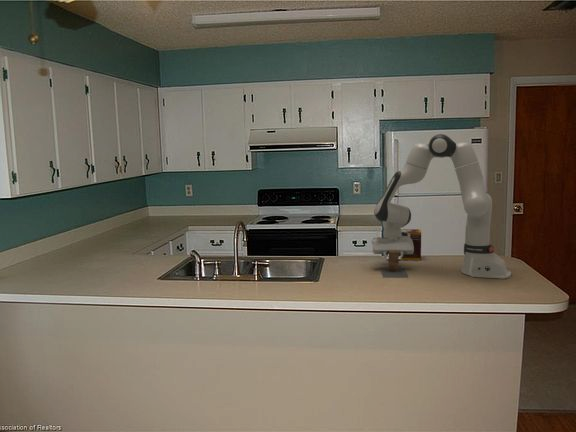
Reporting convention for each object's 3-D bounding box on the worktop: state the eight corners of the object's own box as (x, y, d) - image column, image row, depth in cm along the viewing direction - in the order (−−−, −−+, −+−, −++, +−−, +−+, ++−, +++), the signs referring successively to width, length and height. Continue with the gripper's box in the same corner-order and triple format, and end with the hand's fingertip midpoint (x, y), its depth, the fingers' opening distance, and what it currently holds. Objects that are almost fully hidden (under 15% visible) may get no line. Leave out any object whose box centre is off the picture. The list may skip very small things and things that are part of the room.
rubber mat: (380, 268, 265) (380, 267, 265) (404, 268, 263) (404, 267, 263) (382, 278, 245) (382, 277, 245) (408, 278, 244) (408, 277, 244)
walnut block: (388, 267, 260) (388, 249, 256) (397, 267, 259) (398, 249, 256) (389, 271, 257) (389, 253, 253) (398, 271, 256) (398, 253, 252)
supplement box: (421, 260, 279) (421, 232, 277) (392, 260, 282) (392, 232, 280) (420, 256, 289) (420, 229, 287) (392, 256, 292) (392, 228, 290)
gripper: (371, 233, 262) (372, 257, 254) (413, 233, 259) (415, 257, 251) (371, 240, 267) (372, 263, 259) (412, 240, 264) (414, 263, 256)
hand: (393, 260), depth 255 cm, fingers closed on walnut block, 4 cm apart
